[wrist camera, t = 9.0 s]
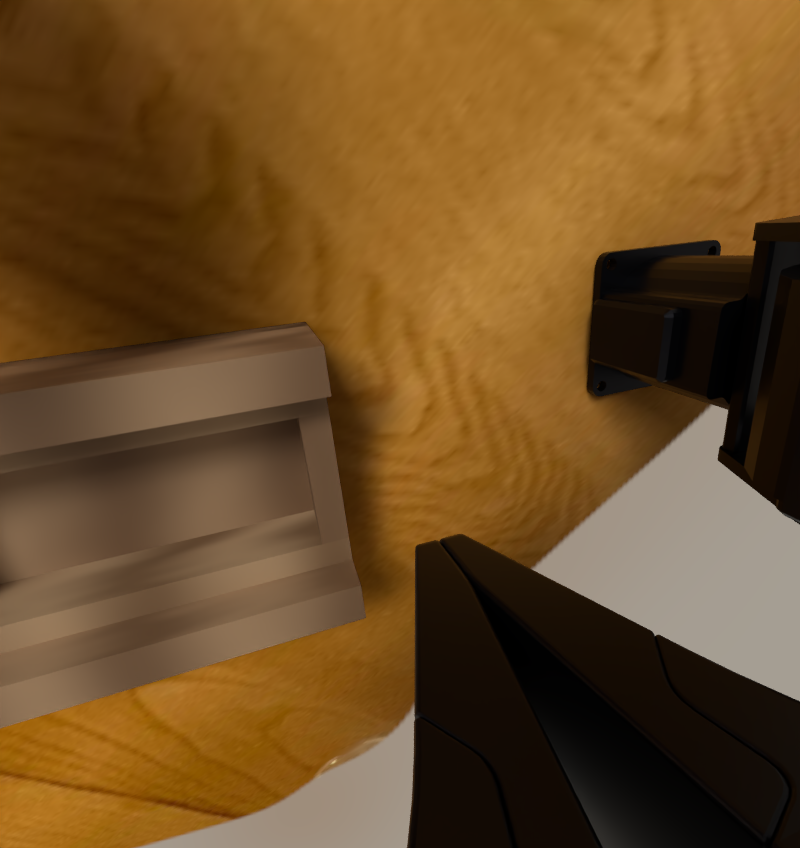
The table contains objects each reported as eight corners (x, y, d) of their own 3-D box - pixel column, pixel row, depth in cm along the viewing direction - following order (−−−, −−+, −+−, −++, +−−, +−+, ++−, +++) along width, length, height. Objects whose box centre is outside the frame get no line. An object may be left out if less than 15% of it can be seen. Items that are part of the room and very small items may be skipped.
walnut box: (305, 321, 17) (323, 345, 13) (341, 539, 21) (365, 617, 16) (-156, 384, 14) (-353, 446, 9) (-13, 630, 17) (-105, 759, 13)
